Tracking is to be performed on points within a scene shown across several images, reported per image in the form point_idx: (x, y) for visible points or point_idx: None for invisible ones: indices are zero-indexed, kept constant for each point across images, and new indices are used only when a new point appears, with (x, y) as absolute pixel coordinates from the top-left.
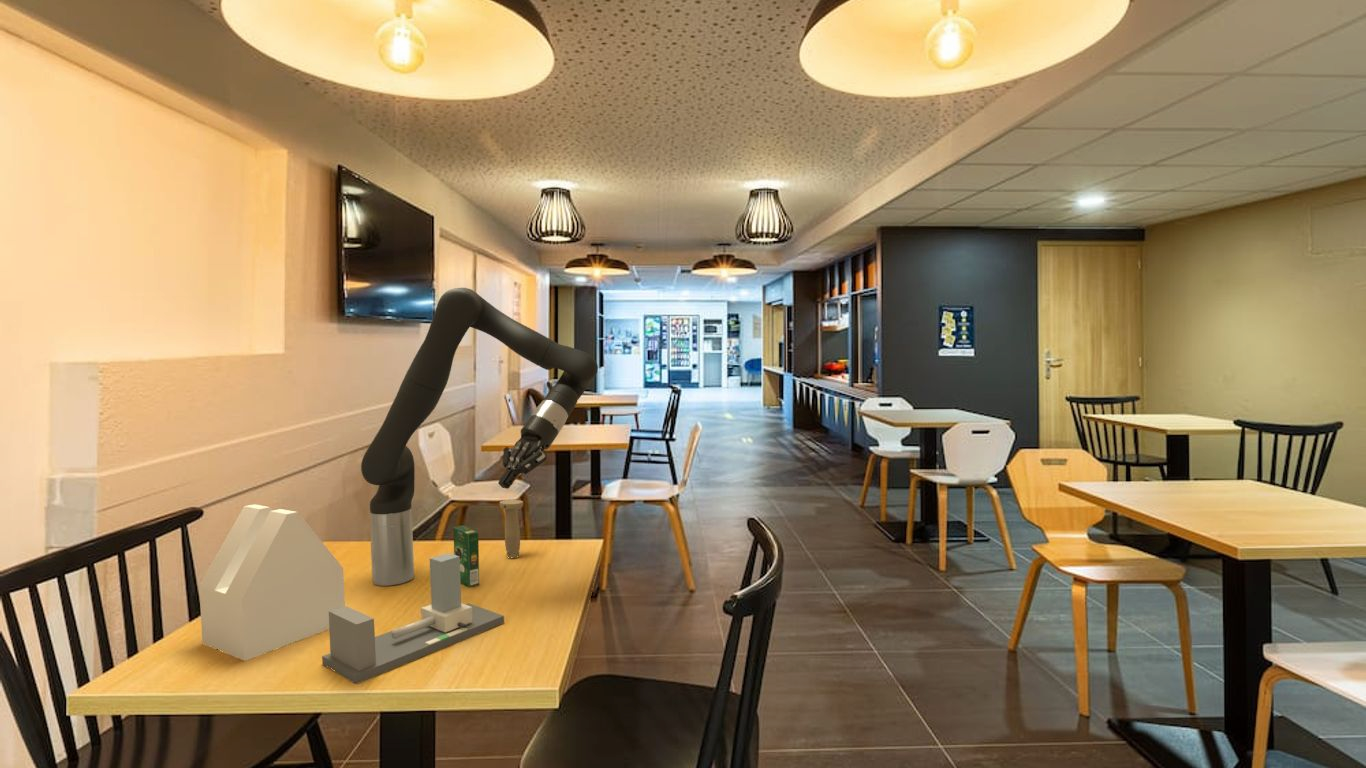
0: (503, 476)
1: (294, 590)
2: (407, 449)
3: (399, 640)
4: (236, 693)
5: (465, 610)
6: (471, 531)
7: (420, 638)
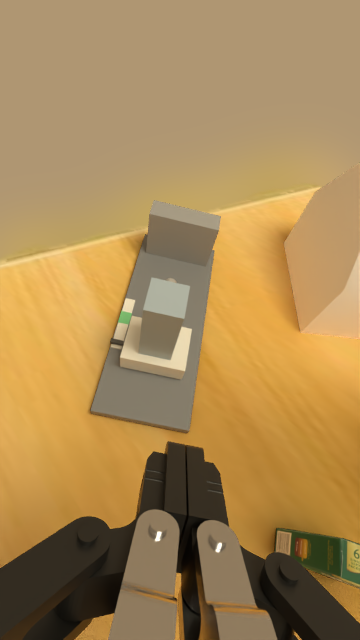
0: (194, 472)
1: (321, 241)
2: None
3: None
4: (225, 209)
5: (123, 347)
6: (356, 564)
7: None
